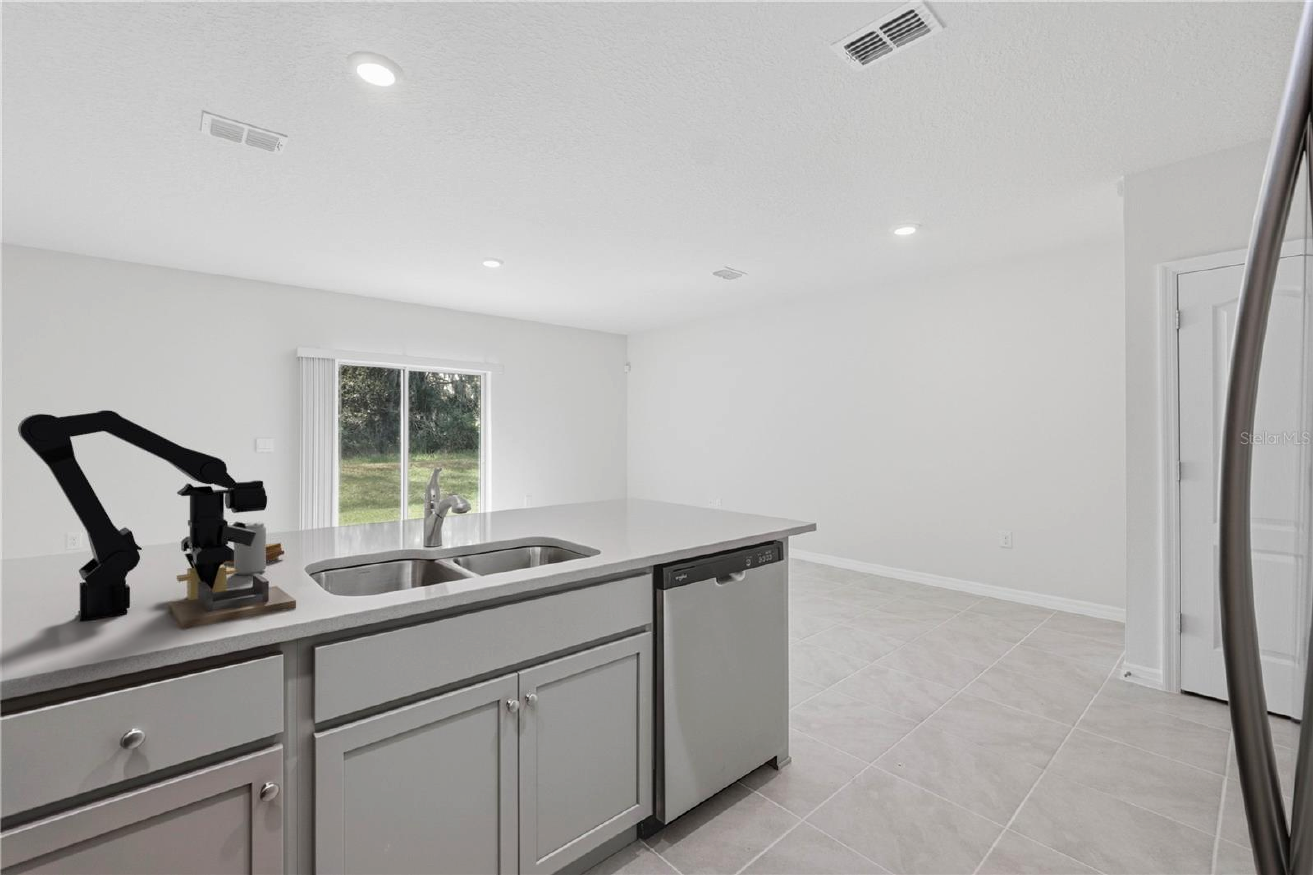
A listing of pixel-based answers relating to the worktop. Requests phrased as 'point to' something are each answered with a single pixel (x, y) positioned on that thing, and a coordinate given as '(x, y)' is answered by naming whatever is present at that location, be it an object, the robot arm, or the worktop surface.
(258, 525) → the beverage can
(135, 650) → the worktop surface
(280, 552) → the toy sandwich meal
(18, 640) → the worktop surface
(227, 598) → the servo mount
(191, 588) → the block
